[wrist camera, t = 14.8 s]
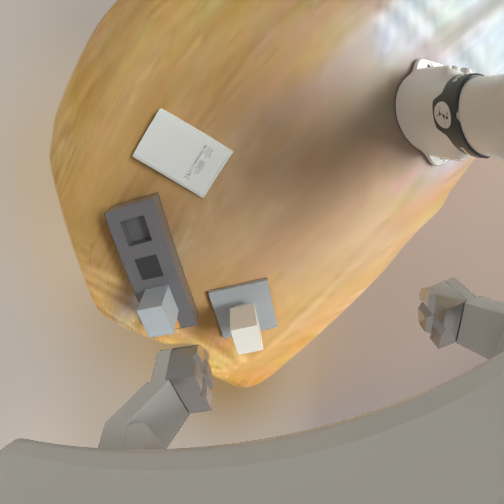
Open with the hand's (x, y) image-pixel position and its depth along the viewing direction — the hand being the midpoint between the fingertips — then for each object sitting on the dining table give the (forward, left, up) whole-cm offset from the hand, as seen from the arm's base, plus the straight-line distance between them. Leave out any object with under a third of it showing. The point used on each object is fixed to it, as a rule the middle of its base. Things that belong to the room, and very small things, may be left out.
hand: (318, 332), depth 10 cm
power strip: (+18, +11, -37) cm, 43 cm away
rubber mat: (+6, +23, -37) cm, 44 cm away
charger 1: (+18, +16, -33) cm, 41 cm away
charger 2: (+6, +23, -36) cm, 43 cm away
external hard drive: (+9, -5, -38) cm, 39 cm away
